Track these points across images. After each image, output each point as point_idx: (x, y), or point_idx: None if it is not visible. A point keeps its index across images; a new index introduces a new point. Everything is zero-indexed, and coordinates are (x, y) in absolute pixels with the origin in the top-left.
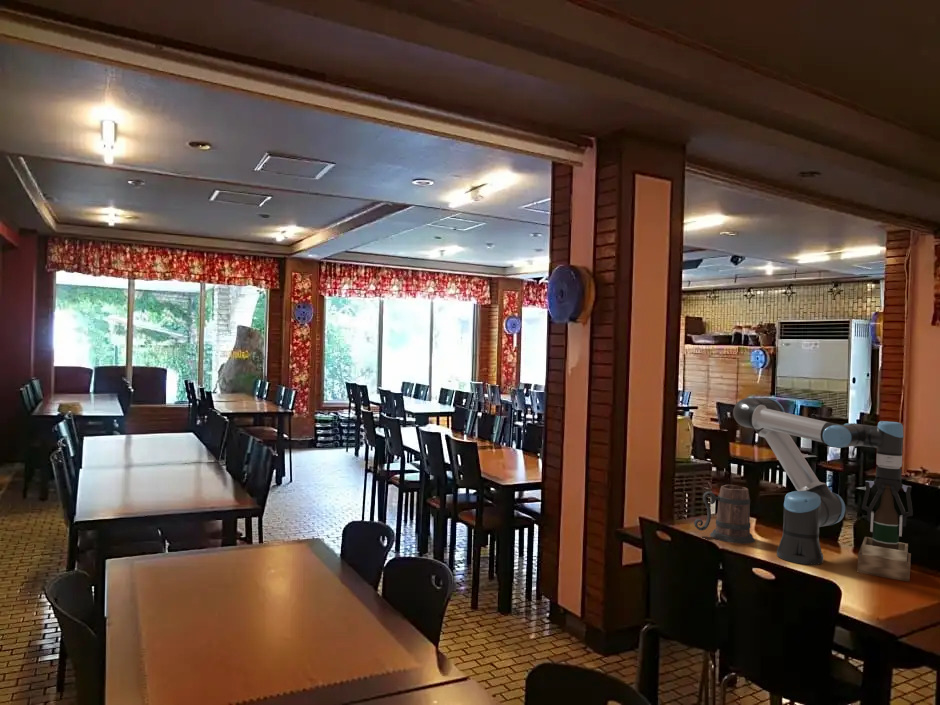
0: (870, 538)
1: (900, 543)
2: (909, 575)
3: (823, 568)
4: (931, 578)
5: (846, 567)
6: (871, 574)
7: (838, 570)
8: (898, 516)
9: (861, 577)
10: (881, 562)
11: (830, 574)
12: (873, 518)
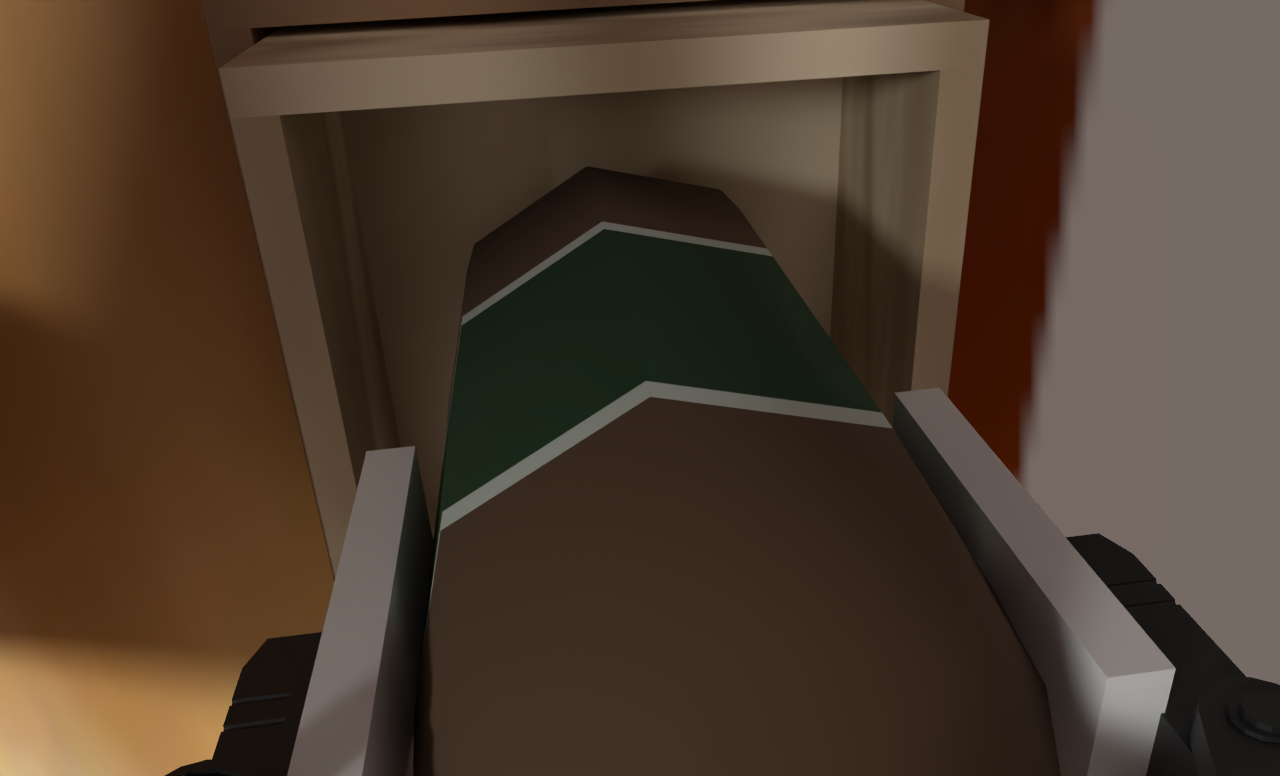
0: (341, 110)
1: (862, 72)
2: None
3: (68, 606)
4: (1072, 116)
5: (224, 389)
6: None
7: (206, 563)
8: (1048, 741)
9: None
10: None
11: (204, 733)
12: (408, 751)
